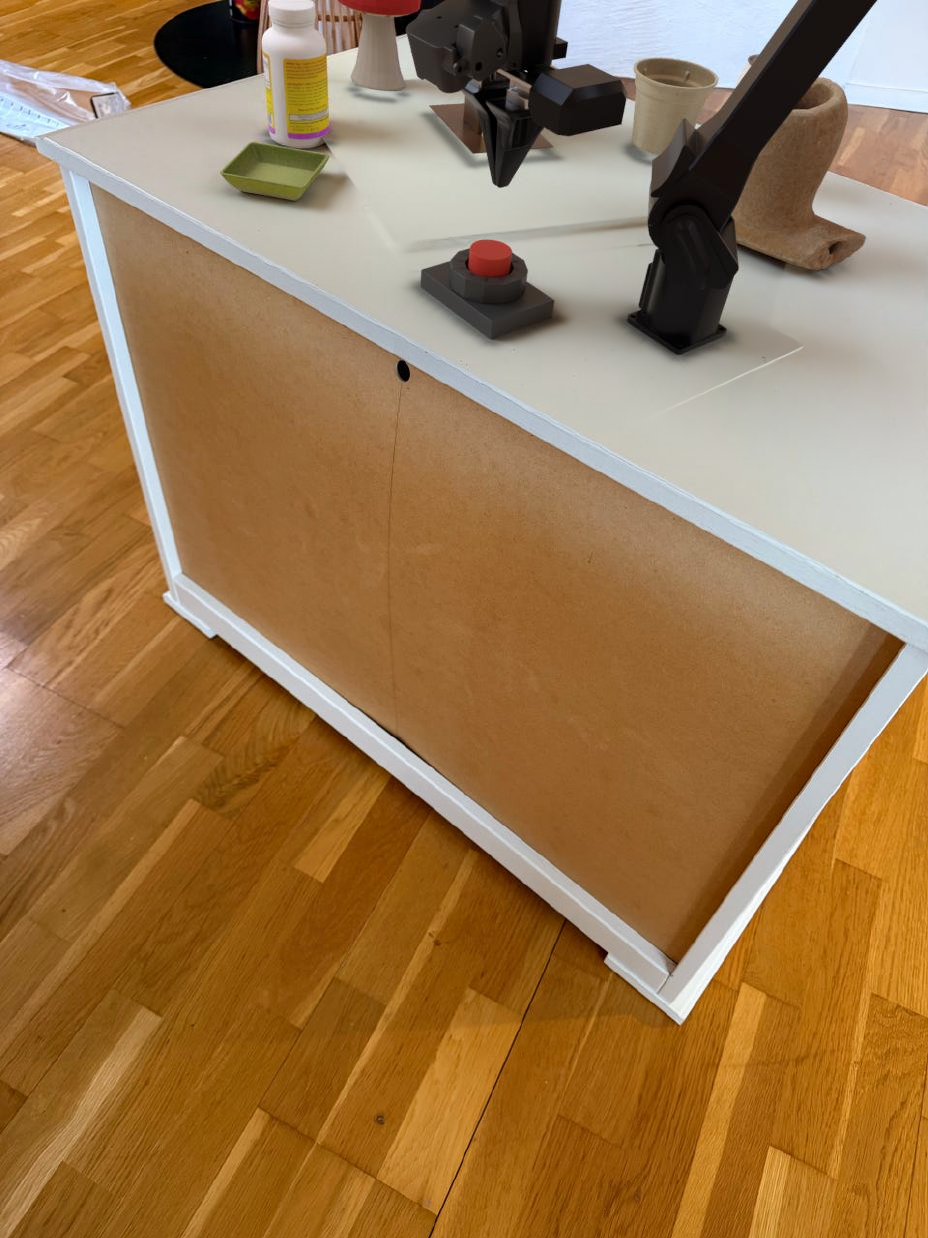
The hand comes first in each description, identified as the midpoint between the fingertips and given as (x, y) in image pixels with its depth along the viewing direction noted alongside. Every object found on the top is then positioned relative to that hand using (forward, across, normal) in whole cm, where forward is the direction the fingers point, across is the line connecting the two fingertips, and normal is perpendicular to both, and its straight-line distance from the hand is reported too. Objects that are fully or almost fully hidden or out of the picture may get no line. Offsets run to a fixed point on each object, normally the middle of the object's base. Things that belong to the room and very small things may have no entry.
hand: (500, 185), depth 72 cm
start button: (+7, 0, -1) cm, 7 cm away
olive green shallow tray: (+10, -28, -5) cm, 31 cm away
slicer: (+10, -29, +23) cm, 38 cm away
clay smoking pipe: (+10, +6, +32) cm, 34 cm away
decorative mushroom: (+10, -46, +18) cm, 51 cm away
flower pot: (+10, -16, +38) cm, 43 cm away
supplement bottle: (+10, -38, +3) cm, 39 cm away
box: (+10, 0, -1) cm, 10 cm away
